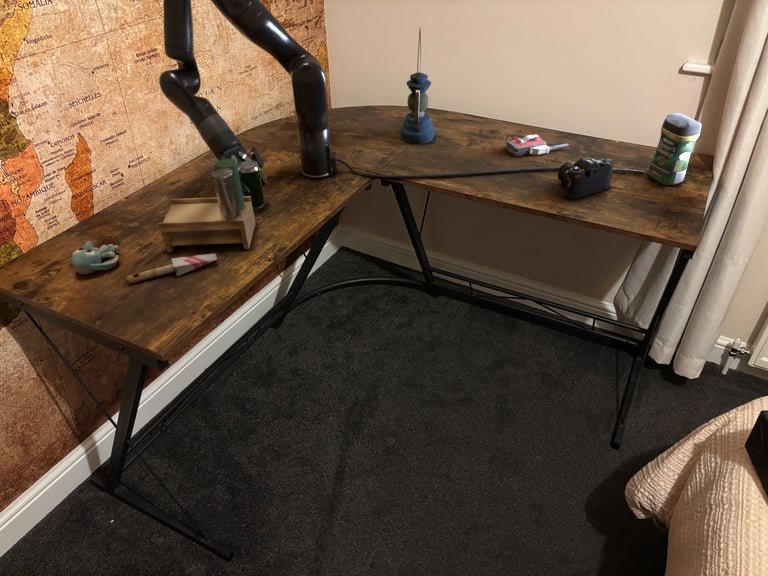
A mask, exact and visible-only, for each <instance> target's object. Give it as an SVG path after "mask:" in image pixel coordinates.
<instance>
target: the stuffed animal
mask: <svg viewBox="0 0 768 576" xmlns="http://www.w3.org/2000/svg"><path fill="white" fill-rule="evenodd" d="M119 251H120V247H119V245H117V244H115V245H114V244H113V243H110V244H107V245H106V244H103V245H101V246H100V247H99V248H98V247H95V246H94V244H93V241H91V240H88V241H86V243H85V244H84V245H83V246H82V247H80V248H77V249H76V250H75V251H74V252H72V253H71V265H72V267H73V268H74V270H75V271H76V272H77V273H79V274H81V275H89V274H93V273H94V272H96V271H108V270H110V269H113V268H114V267H115V266H116V265H117V264H118V261H119V257H120V256H119V255H118V254H116V253H117V252H119ZM105 258H106V259H107V258H109V259H108V260H106V261H104V262H102V259H105Z"/></svg>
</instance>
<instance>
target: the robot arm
mask: <svg viewBox="0 0 768 576" xmlns="http://www.w3.org/2000/svg"><path fill="white" fill-rule="evenodd" d="M162 2H163V14H162V15H163V21H162V22H163V43H164V44H163V46H164V47H163V48H164V54H165V56H166V57H167V58H168V59H171V60H173V61H176V64H177V68H174V69H168V70H165V71H163V72H162V73H161V74H160V76H159V78H158V84H159V88H160V90H161V93H162V94H163V96H165V98H166V99H167V100H168V101H169V102H170V103H171V104H172V105H173V106H175V107H176V108H177V109H178V110H179V111H180V112H182V113H183V114H184V115H185V116H186V117H187V118H188V119H189V120H190V122H191V123H192V125H193V126H194V127H195V129H196V130H197V132H198V134H199V136H200V137H201V139H202V140H203V142H204V143H205V144H206V146H207V147H208V148H209V149H210V151H211V152H212V154H213V155H214V157H215V158H216V159H218V161H220V160H223V159H234V160H236V162H237V167H238V165H239V164H240V163H241V162H244V161H255V162H257V164H258V166H259V170H260V176H261V182H262V187H266V186H267V184H268V180H267V179H268V178H267V177H266V176H265V175H264V173H263V172H262V169H263V167H265V164H264V161H263V159H262V158H261V155H260V154H259V151H258V149H257V148H256V147H255V146H251V148H248V149H246V148H245V147H244V146H242V144H241V141H240V140H239V138H238V137H237V135H236V134H235V132H234V131H233V130H232V129H231V127H230V126H229V124H228V123H227V121H226V120H225V119H224V118H223V117H222V116H221V115H220V113H219V112H218V110H216V108H215V106H214V105H213V104H212V103H211V101H210V100H209V99H208V98H207V97H204V96H198V95H197V94H198V93H199V91H200V89H201V84H202V79H201V73H200V70H199V67H198V62H197V58H196V56H195V49H194V48H195V41H194V40H195V38H194V37H195V33H194V32H195V31H194V17H193V9H192V0H163V1H162ZM210 2H211V3H212V4H213V5H214V7H216V9H217V10H218V12H219V13H220V14H221V15H222V16H223V17H224V18H225V19H226V21H228V22H229V23H230V25H232V27H234V29H235V30H237V31H238V32H239V33H240V34H241V35H242V36H243V37H244V38H245V39H246V40H248V41H249V42H251V43H252V44H253V45H255V46H256V47H258V48H259V49H261V50H263V51H264V52H265V53H267V54H269V55H270V56H271V57H272V58H273V59H275V61H276V62H277V63H278V64H279V65H280V66H281V67H282V68H283V69H284V71H285V72H286V73H287V74H288V75H289V77H290V79H291V86H292V95H293V103H294V114H295V122H296V123H295V124H296V132H297V140H298V148H299V160H300V164H301V165H300V167H301V174H302V176H304V177H306V178H309V179H323V178H326V177H330V176H333V171H334V169H333V168H337V162H338V163H340V164H343V165H344V166H346V167H347V168H348V170H349V171H350V172H352V173H354V174H355V175H358V176H362V177H367V178H375V179H429V178H431V179H432V178H433V179H434V178H448V177H449V178H452V177H465V176H477V175H478V176H479V175H490V174H492V175H493V174H503V173H504V174H505V173H515V172H517V173H518V172H533V171H559V169H560V167H561V166H545V167H543V166H541V167H540V166H539V167H523V168H509V169H508V168H507V169H495V170H482V171H470V172H469V171H468V172H456V173H439V174H438V173H437V174H415V175H414V174H405V175H403V174H397V175H396V174H391V175H390V174H389V175H388V174H383V175H382V174H374V173H365V172H364V173H363V172H360V171H358V170H356V169H354V168H353V167H352V165H350V163H348V162H347V161H345V160H343V159H341V158H338V157H337V151H332V141H331V135H330V124H329V122H330V121H329V109H328V108H329V100H328V87H327V77H326V73H325V70H324V67H323V65H322V64H321V61H319V59H318V58H317V57H315V56H314V55H313V54H312V53H311V52H309V50H307V49H305V48H304V47H303V46H302V45H301V44H300V43H299V42H298V41H296V40H295V38H293V37H292V36H291V35H290V34H289V32H288V31H287V30H286V29H285V27H284V26H283V25H282V24H281V23H280V22H279V20H278V19H277V18H276V17H275V15H274V14H273V13H272V12H271V11H270V10H269V9H268V8H267V7H266V5H265V4H264V3H263V2H262V1H261V0H210ZM238 168H239V167H238ZM215 170H217V168H216V164H214V166H213V167H212V172H213V171H215ZM238 172H239V171H238ZM612 172H617V173H631V174H642V175H644V174H646V173H645V172H646V171H645V170H640V169H629V168H628V169H627V168H614V167H613V171H612ZM239 177H240V175H239ZM240 183H241V188H242V193H243V194H245V195H248V194H249V193H250V190H249V188H248V187H247V186H246V184H245V183H244V181H243V180H241V178H240Z"/></svg>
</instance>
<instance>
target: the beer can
mask: <svg viewBox="0 0 768 576" xmlns="http://www.w3.org/2000/svg"><path fill="white" fill-rule="evenodd" d="M238 167H239V168H238V171H239V175H240V178H241V180H243V181H244V183H245V184H246V186H247V187H248V188H249V190H250V193H249V194H248V195H245V194H243V196H251V202H252V207H253V210H258V209H261V208H263V207H264V206H265V203H266V199H265V194H264V188H263V187H262V182H261V176H260V170H259V166H258V164H257V162H255V161H253V160H252V161H244V162H241V163H240V164H239V165H238Z"/></svg>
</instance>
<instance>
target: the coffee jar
mask: <svg viewBox="0 0 768 576" xmlns="http://www.w3.org/2000/svg"><path fill="white" fill-rule="evenodd" d="M701 129H702V123H701V122H700V121H697V120H695V119H693V118H691V117H689V116H687V115H685V114H682V112H676V113H670V114H668V115H666V116H665V118H664V120H663V122H662V125H661V128H660V137H659V141H658V144H657V147H656V149H655V152H654V155H653V157H652V160H651V162H650V163H649V167H648V170H647V175H648V176H649V177H650V178H652V180H654V181H656V182H658V183H659V184H662V185H665V186H666V185H667V186H676V185H678V184H681V183H683V181H684V180H685V175H686V173H687V172H686V171H687V169H688V165H689V160H690V157H691V154H692V151H693V147H694V145H695V143H696V141H697V140H698V138H699V137H700V134H701Z"/></svg>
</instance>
